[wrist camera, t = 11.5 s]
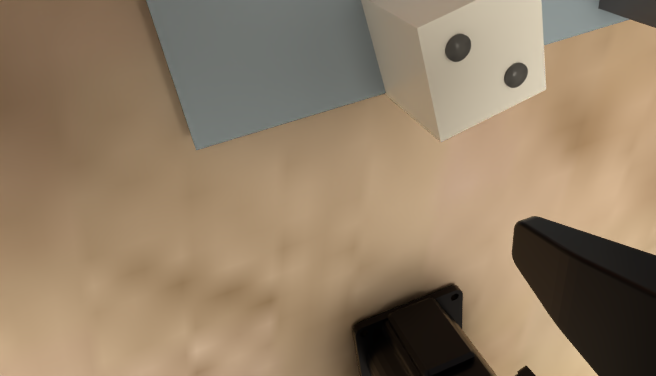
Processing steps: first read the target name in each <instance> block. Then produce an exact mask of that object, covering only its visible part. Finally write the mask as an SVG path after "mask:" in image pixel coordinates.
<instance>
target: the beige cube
mask: <svg viewBox="0 0 656 376" xmlns="http://www.w3.org/2000/svg"><path fill="white" fill-rule="evenodd" d="M361 2H362V6H363V10H364V13H365V17H366V21H367V24H368V28H369V32H370V36H371V39H372V43H373V47H374V50H375V54H376V58H377V61H378V65H379V69H380V73H381V76H382V80H383V84H384V87H385V91H386V95H387V96H388V97H389V98H390V99H391V100H392V101H394V102H395V103H396V104H397V105H398V106H399V107H401V108H402V109H403V110H404V111H405V112H406V113H407V114H409V115H410V116H411V117H412V118H413V119H414V120H416V121H417V122H418V123H419V124H420V125H421V126H423V127H424V128H425V129H426V130H427V131H428V132H429V133H431V134H432V135H433V136H434V137H435V138H436V139H438V140H439V141H440V142H443V141H445V140H447V139H449V138H451V137H453V136H455V135H457V134H459V133H461V132H463V131H465V130H467V129H469V128H471V127H473V126H475V125H477V124H478V123H480V122H482V121H484V120H486V119H488V118H490V117H492V116H494V115H496V114H498V113H500V112H502V111H504V110H506V109H508V108H510V107H512V106H514V105H516V104H518V103H520V102H522V101H524V100H526V99H528V98H530V97H532V96H534V95H536V94H538V93H540V92H542V91H544V90H546V78H545V59H544V39H543V20H542V0H361Z"/></svg>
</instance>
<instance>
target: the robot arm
mask: <svg viewBox="0 0 656 376" xmlns="http://www.w3.org/2000/svg"><path fill="white" fill-rule="evenodd" d="M512 257H513V260H514V262H515V264H516V266H517V268H518V269H519V271H520V272H521V274H522V275H523V276H524V278H525V279H526V281H527V282H528V284H529V285H530V287H531V288H532V290H533V291H534V293H535V294H536V296H537V297H538V299H539V300H540V302H541V303H542V305H543V306H544V308H545V309H546V311H547V312H548V314H549V315H550V317H551V318H552V319H553V321H554V322H555V323H556V325H557V326H558V327H559V329H560V330H561V331H562V332H563V334H564V335H565V336H566V337H567V339H568V340H569V341H570V342H571V343H572V345H573V346H574V347H575V348H576V349H577V350H578V352H579V353H580V354H581V355H582V356H583V358H584V359H585V360H586V361H587V362H588V364H589V365H590V366H591V367H592V368H593V370H594V371H595V372H596V373H597V374H598V376H656V255H653V254H650V253H647V252H644V251H641V250H638V249H635V248H632V247H629V246H626V245H623V244H620V243H617V242H614V241H611V240H607V239H604V238H601V237H598V236H595V235H592V234H589V233H586V232H583V231H580V230H577V229H574V228H571V227H568V226H565V225H562V224H559V223H556V222H553V221H550V220H547V219H544V218H541V217H537V216H533V217H529V218H527V219H524V220H521V221H518V222H517V223H516V225H515V227H514V235H513V246H512ZM462 300H463V293H462V291H461V290H460V289H459V287H458V286H455V285H453V286H450V287H447V288H445V289H442V290H440V291H437V292H435V293H432V294H430V295H427V296H425V297H422V298H420V299H417V300H414V301H412V302H409V303H407V304H404V305H402V306H399V307H397V308H394V309H392V310H389V311H387V312H384V313H382V314H379V315H377V316H374V317H372V318H369V319H367V320H364V321H362V322H359V323H358V324H356V325H355V326H354V328H353V331H352V332H353V338H354V344H355V350H356V355H357V361H358V367H359V373H360V376H497V375H496V374H495V373H494V371H493V370H492V369H491V367H490V366H489V365H488V363H487V362H486V361H485V359H484V358H483V357H482V356H481V354H480V353H479V352H478V350H477V349H476V348H475V346H474V345H473V344H472V342H471V341H470V340H469V338H468V337H467V336H466V334H465V333H464V332H463V330H462ZM517 372H518V374H517V375H515V376H535V374H534V373H533V372H532V371H531V370H530V369H529V368H528V367H527V366H525V367H523V368H522V369H520V370H519V371H517Z"/></svg>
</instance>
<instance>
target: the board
mask: <svg viewBox="0 0 656 376" xmlns="http://www.w3.org/2000/svg"><path fill="white" fill-rule="evenodd" d="M146 1H147V4H148V7H149V10H150V13H151V16H152V19H153V22H154V25H155V28H156V31H157V34H158V37H159V40H160V43H161V46H162V49H163V52H164V55H165V58H166V61H167V64H168V67H169V70H170V73H171V76H172V79H173V82H174V85H175V88H176V91H177V94H178V97H179V100H180V103H181V106H182V109H183V112H184V115H185V118H186V121H187V124H188V127H189V130H190V133H191V136H192V139H193V142H194V145H195V148H196V150H199V149H202V148H206V147H209V146H212V145H215V144H219V143H222V142H225V141H229V140H232V139H235V138H239V137H242V136H245V135H249V134H252V133H255V132H259V131H262V130H265V129H268V128H272V127H275V126H278V125H282V124H285V123H288V122H292V121H295V120H298V119H302V118H305V117H308V116H312V115H315V114H318V113H321V112H325V111H328V110H331V109H335V108H338V107H341V106H345V105H348V104H351V103H355V102H358V101H361V100H364V99H368V98H371V97H374V96H378V95H381V94H384V93H386V91H385V87H384V84H383V80H382V76H381V73H380V69H379V65H378V61H377V58H376V54H375V50H374V47H373V43H372V39H371V36H370V32H369V28H368V24H367V21H366V17H365V13H364V10H363V6H362V2H361V0H146ZM599 1H600V0H542V20H543V39H544V45H547V44H550V43H553V42H557V41H560V40H563V39H566V38H570V37H573V36H576V35H580V34H583V33H586V32H590V31H593V30H596V29H600V28H603V27H606V26H609V25H613V24H616V23H619V22H623V21H626V20H629V19H628V18H625V17H622V16H619V15H616V14H613V13H610V12H607V11H604V10H601V9H598V7H599Z"/></svg>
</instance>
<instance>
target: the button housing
mask: <svg viewBox="0 0 656 376" xmlns="http://www.w3.org/2000/svg"><path fill="white" fill-rule="evenodd" d="M598 9H601V10H604V11H607V12H610V13H613V14H616V15H619V16H622V17H625V18H628V19H631V20H634V21H637V22H640V23H643V24H646V25H649V26H652V27H655V28H656V0H600V1H599V7H598Z"/></svg>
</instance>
